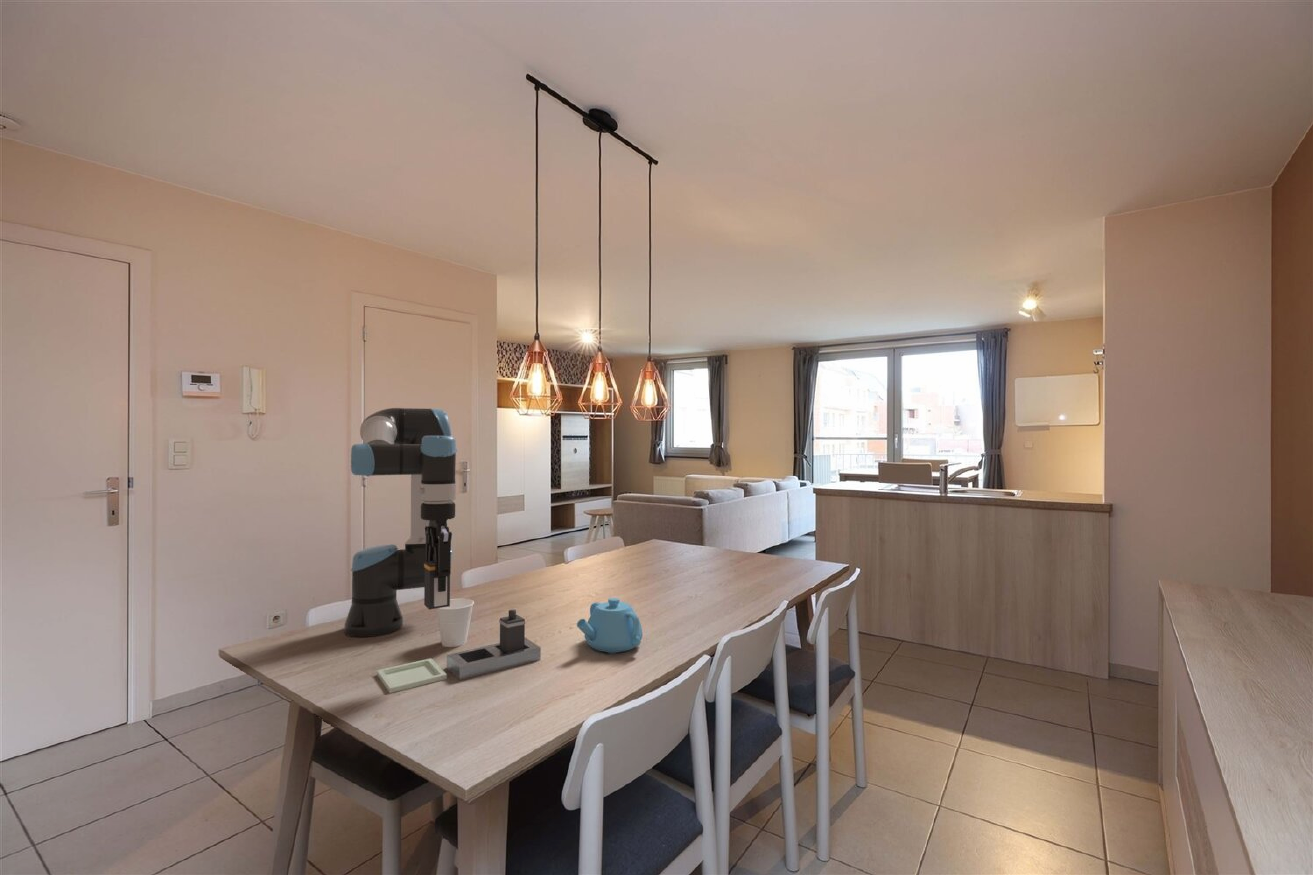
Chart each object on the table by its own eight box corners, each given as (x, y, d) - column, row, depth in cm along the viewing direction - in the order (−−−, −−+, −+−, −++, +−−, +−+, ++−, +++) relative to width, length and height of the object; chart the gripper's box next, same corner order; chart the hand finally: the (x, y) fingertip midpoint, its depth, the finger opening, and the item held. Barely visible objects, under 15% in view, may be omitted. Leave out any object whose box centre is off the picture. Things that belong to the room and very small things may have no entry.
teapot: (660, 648, 149) (660, 600, 149) (603, 670, 134) (603, 617, 134) (609, 630, 162) (610, 586, 163) (553, 648, 148) (553, 600, 148)
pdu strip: (446, 669, 134) (446, 654, 134) (524, 650, 146) (524, 637, 146) (459, 682, 127) (459, 666, 127) (540, 661, 139) (540, 647, 139)
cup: (461, 652, 145) (461, 609, 145) (426, 649, 147) (426, 607, 147) (480, 639, 154) (481, 599, 154) (447, 636, 156) (448, 597, 156)
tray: (377, 676, 130) (377, 670, 130) (430, 664, 137) (430, 658, 137) (389, 695, 120) (390, 688, 120) (447, 680, 128) (447, 674, 128)
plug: (423, 604, 131) (424, 553, 131) (444, 601, 134) (444, 550, 134) (429, 609, 127) (429, 556, 127) (450, 606, 130) (450, 554, 130)
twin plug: (499, 658, 140) (499, 609, 140) (516, 654, 143) (517, 606, 143) (506, 664, 136) (507, 614, 136) (524, 659, 139) (525, 611, 139)
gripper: (412, 499, 136) (411, 596, 135) (431, 506, 121) (430, 614, 121) (444, 498, 140) (443, 592, 140) (466, 504, 126) (465, 608, 125)
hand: (437, 602), depth 130 cm, fingers closed on plug, 4 cm apart
